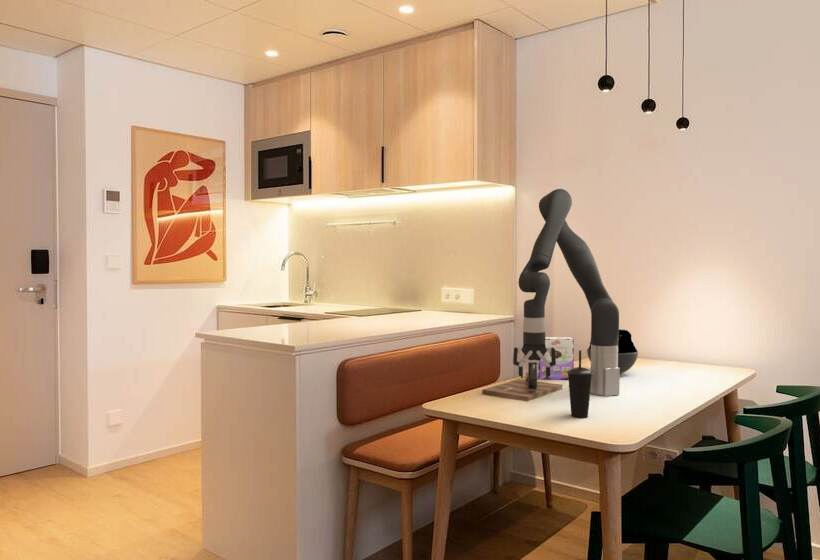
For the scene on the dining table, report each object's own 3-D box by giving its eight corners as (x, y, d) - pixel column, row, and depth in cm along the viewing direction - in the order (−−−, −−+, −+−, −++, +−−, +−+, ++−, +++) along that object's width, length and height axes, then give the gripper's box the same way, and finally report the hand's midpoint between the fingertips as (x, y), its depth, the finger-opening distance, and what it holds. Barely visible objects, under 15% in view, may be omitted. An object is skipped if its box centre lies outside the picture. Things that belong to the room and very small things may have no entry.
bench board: (518, 382, 246) (518, 378, 246) (562, 388, 234) (562, 384, 234) (482, 394, 225) (482, 389, 225) (527, 401, 214) (527, 396, 214)
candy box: (571, 377, 257) (572, 336, 256) (573, 380, 251) (574, 338, 250) (536, 376, 258) (537, 336, 258) (538, 379, 252) (538, 338, 252)
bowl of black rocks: (642, 379, 252) (642, 332, 251) (589, 378, 255) (590, 331, 255) (632, 370, 272) (633, 326, 271) (584, 369, 275) (584, 325, 274)
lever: (525, 379, 241) (525, 353, 241) (536, 380, 240) (536, 353, 240) (526, 392, 219) (526, 363, 219) (538, 392, 218) (538, 363, 218)
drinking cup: (588, 413, 198) (588, 348, 197) (596, 419, 190) (596, 352, 190) (563, 413, 198) (564, 348, 197) (570, 419, 190) (571, 352, 190)
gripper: (554, 329, 222) (554, 376, 222) (512, 329, 224) (512, 375, 224) (556, 331, 214) (556, 380, 215) (513, 331, 216) (513, 379, 217)
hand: (534, 377), depth 219 cm, fingers open, 8 cm apart
